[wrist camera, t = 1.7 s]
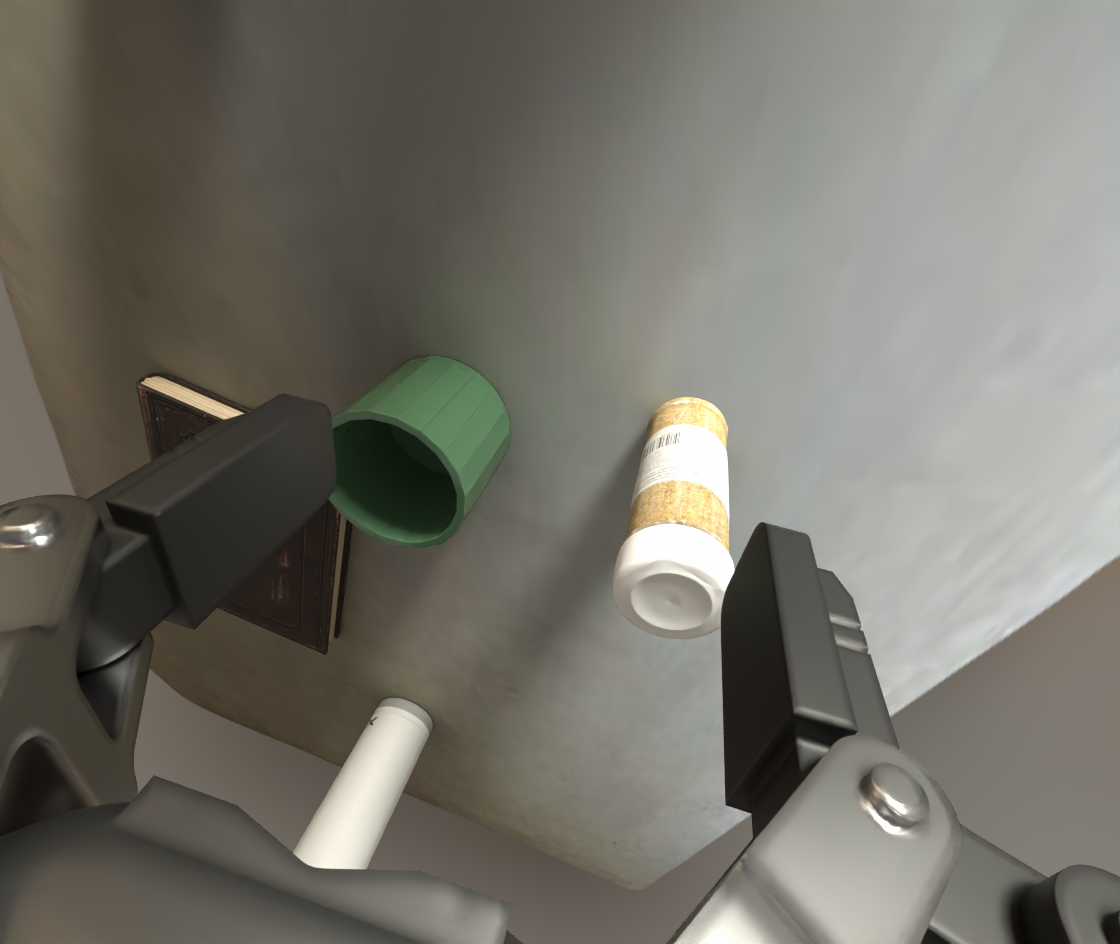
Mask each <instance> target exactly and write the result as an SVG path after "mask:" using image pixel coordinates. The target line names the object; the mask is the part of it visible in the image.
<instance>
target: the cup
mask: <svg viewBox="0 0 1120 944" xmlns="http://www.w3.org/2000/svg"><path fill="white" fill-rule="evenodd" d="M331 419H332V429H333V439H334V449H335V459H336V469H337V478H336V483H335V487H334V489H333V492H332V494H331V496H330V497H329V501H330V502H331V503H332V504H333V505H334V507H335V508H336V509H337V510H338V512H339V513H340V514H342V516H343V517H345V518H346V519H347V520H348V521H349V522H351V523H352V524H353V525H354V526H356V527H357V528H358V529H359V530H361V531H362V532H364V533H366V534H368V535H370V536H372V537H374V538H376V539H378V540H379V541H382V542H385V543H388V544H392V545H396V546H399V547H404V548H428V547H431V546H435V545H438V544H442V543H444V542H445V541H446V540H448V539H449V538H450V537H452V536H453V535H454V534H455V533H457V531H458V530H459V528H460V527H461V525H462V524H463V522H464V520H465V519H466V517H467V516H468V514H469V513H470V511H471V509H472V508H473V506H474V505H475V503H476V501H477V500H478V498H479V497H480V495H481V494H482V492H483V490H484V489H485V487H486V486H487V484H488V482H489V481H490V479H491V478H492V476H493V475H494V473H495V471H496V470H497V468H498V467H499V465H500V463H501V461H502V459H503V458H504V456H505V454H506V452H507V449H508V447H509V443H510V434H511V429H510V421H509V417H508V413H507V410H506V408H505V405H504V403H503V401H502V400H501V398H500V396H499V395H498V393H497V392H496V390H495V389H494V388H493V387H492V385H491V384H490V383H489V382H488V381H487V380H486V379H485V378H484V377H483V376H482V375H480V374H479V373H478V372H476V371H475V370H474V369H472V368H470V367H469V366H467V365H465V364H463V363H461V362H458V361H456V360H453V359H450V358H446V357H440V356H421V357H417V358H413V359H411V360H408V361H406V362H404V363H403V364H401V365H400V366H398V367H397V368H395V369H393V370H392V371H391V372H389V373H388V374H387V375H386V376H384V377H383V378H382V379H380V380H379V381H378V382H377V383H375V384H374V385H373V386H371V387H370V388H369V389H368V390H366V391H365V392H364V393H362V394H361V395H360V396H359V397H357V398H356V399H355V400H353V401H352V402H351V403H349V404H348V405H347V406H346V407H344V408H343V409H342V410H340V411H339V412H338V413H337V414H335V415H334V416H333V417H331Z"/></svg>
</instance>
